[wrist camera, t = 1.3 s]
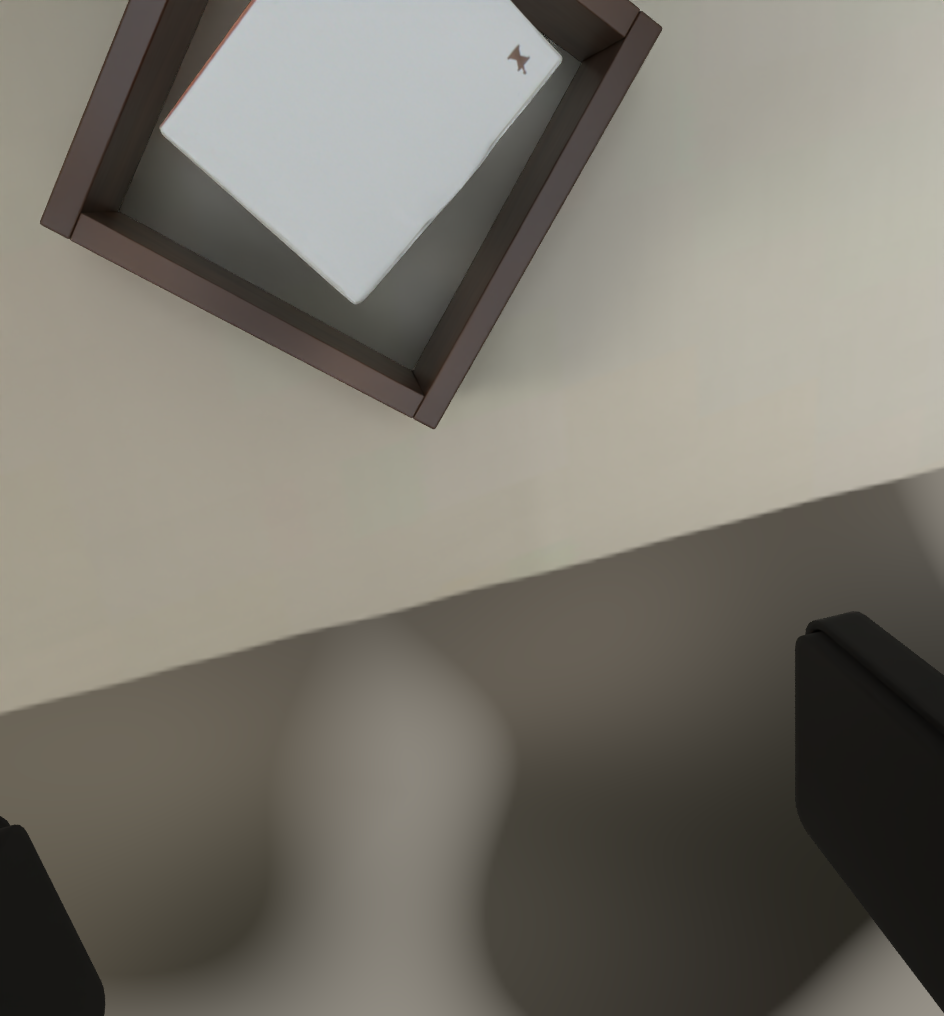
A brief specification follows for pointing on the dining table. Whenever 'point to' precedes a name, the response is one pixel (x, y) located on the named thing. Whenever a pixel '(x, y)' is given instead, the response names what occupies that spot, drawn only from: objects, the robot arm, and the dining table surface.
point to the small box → (357, 119)
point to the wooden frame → (418, 394)
